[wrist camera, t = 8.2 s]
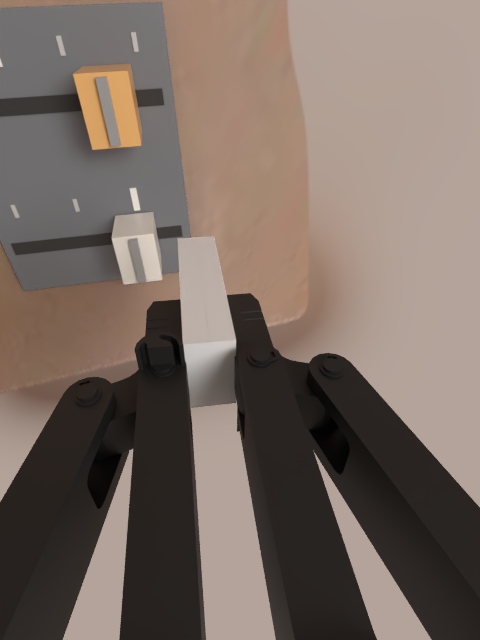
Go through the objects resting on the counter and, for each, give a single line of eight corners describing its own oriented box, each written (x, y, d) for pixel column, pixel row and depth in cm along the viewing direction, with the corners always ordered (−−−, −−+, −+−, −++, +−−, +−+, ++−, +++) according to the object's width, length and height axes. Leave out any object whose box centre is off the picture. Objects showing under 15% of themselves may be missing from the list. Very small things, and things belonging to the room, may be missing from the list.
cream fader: (126, 259, 33) (123, 287, 30) (115, 215, 31) (110, 240, 27) (161, 255, 34) (162, 282, 30) (153, 211, 31) (153, 235, 28)
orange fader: (99, 134, 27) (91, 151, 24) (82, 66, 24) (71, 75, 21) (142, 130, 27) (141, 147, 24) (130, 63, 25) (127, 71, 21)
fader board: (27, 283, 34) (23, 291, 33) (-97, 12, 22) (-109, 11, 21) (193, 263, 36) (195, 270, 35) (161, 2, 24) (161, 1, 23)
